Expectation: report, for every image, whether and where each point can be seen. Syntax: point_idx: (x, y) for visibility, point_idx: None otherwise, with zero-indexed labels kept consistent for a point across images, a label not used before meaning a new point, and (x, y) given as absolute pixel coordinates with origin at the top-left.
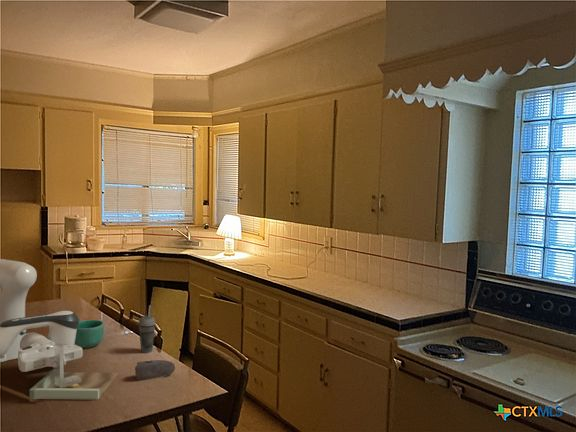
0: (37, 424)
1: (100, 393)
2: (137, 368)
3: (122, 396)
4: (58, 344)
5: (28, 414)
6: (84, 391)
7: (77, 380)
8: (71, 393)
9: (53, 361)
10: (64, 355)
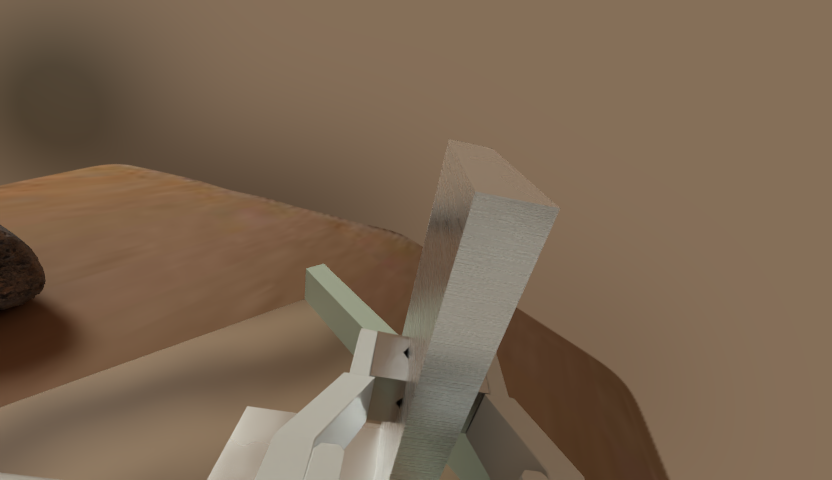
0: (526, 325)
1: (271, 317)
2: (15, 236)
3: (234, 278)
4: (487, 171)
5: (558, 406)
6: (354, 296)
7: (278, 412)
8: None
9: (488, 374)
10: (266, 458)
